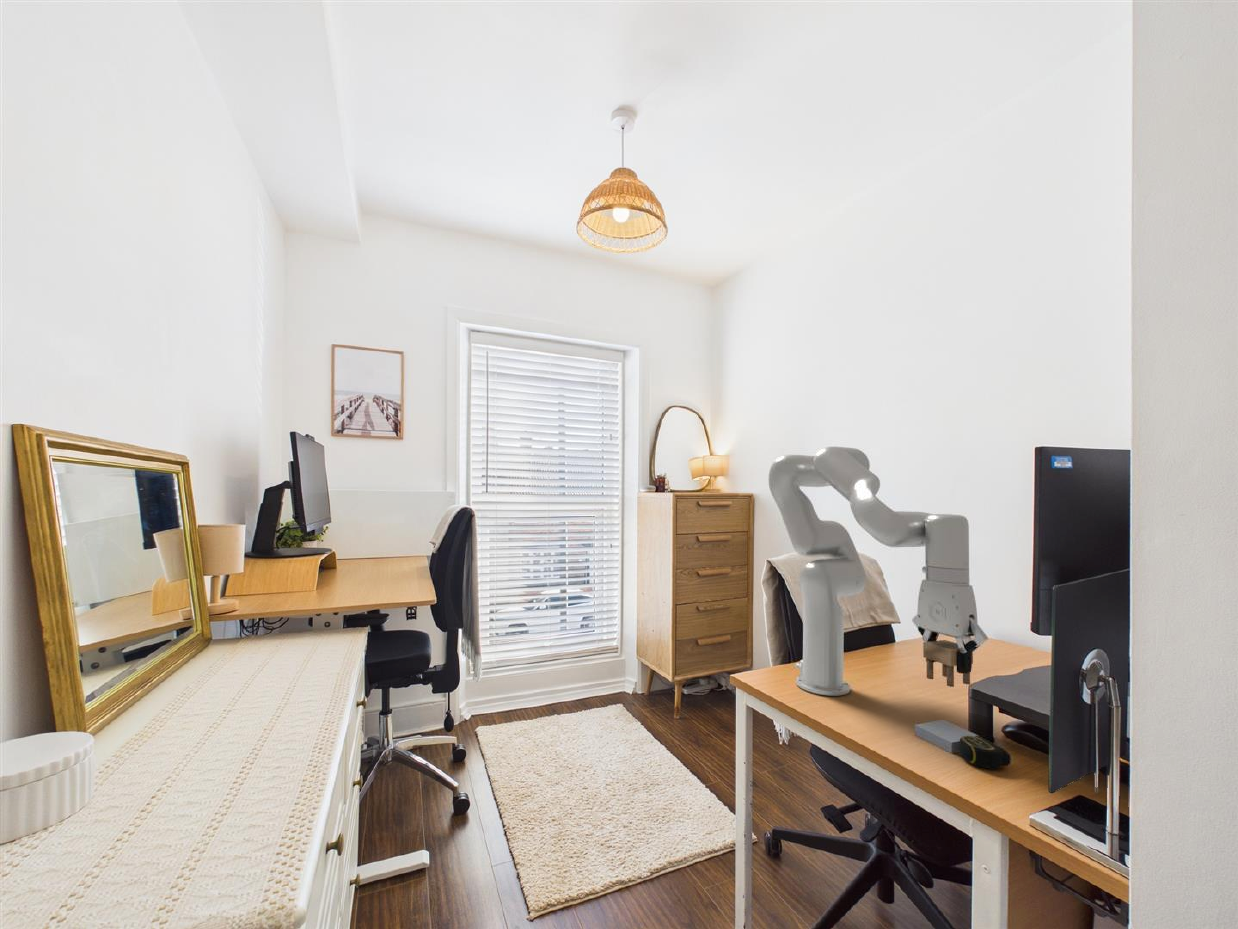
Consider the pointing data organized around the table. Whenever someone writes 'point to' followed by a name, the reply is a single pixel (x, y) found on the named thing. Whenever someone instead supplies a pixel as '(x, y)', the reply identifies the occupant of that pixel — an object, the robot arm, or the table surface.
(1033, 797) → the table surface
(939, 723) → the plinth
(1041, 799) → the table surface
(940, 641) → the stool
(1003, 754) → the tape measure
